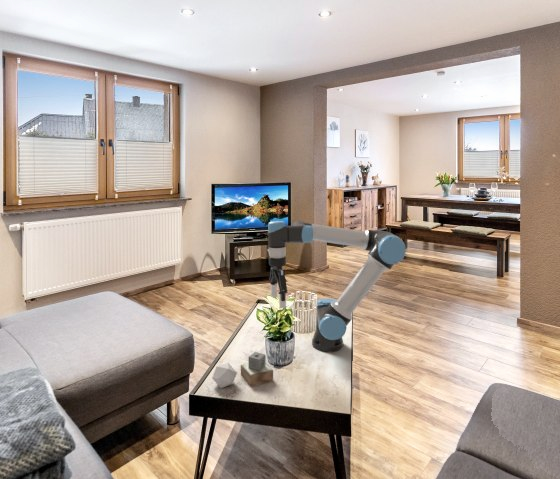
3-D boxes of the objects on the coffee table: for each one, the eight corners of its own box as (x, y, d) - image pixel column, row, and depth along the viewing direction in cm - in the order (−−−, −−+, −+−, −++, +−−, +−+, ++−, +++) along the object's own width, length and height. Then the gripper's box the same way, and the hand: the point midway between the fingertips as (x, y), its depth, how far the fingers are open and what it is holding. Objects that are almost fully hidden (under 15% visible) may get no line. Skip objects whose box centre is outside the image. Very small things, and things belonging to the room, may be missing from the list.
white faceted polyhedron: (230, 378, 164) (214, 360, 162) (244, 373, 159) (229, 355, 157) (220, 394, 157) (204, 376, 155) (234, 390, 152) (218, 372, 150)
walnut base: (262, 370, 170) (262, 359, 169) (273, 381, 161) (273, 369, 160) (240, 376, 165) (240, 364, 164) (250, 387, 156) (250, 375, 156)
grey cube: (248, 368, 161) (248, 356, 160) (255, 363, 165) (255, 351, 165) (259, 371, 159) (259, 359, 158) (265, 366, 163) (265, 354, 162)
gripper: (262, 251, 185) (263, 295, 189) (277, 263, 162) (278, 312, 165) (277, 250, 187) (278, 294, 191) (294, 261, 164) (295, 310, 167)
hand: (278, 302), depth 178 cm, fingers open, 13 cm apart
